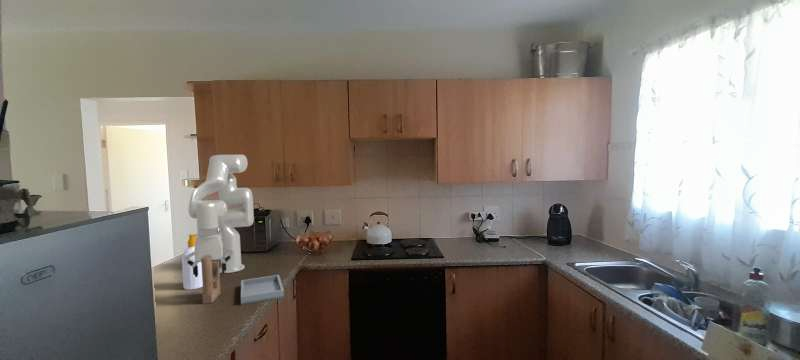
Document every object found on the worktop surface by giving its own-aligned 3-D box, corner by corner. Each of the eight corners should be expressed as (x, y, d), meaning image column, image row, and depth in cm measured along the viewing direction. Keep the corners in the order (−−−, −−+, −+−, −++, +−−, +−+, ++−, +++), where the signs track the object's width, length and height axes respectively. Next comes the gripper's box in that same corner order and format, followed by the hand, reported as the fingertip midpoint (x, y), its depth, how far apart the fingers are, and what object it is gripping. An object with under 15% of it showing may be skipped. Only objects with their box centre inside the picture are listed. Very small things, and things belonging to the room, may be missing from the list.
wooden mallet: (220, 293, 147) (218, 251, 146) (212, 303, 137) (209, 258, 136) (211, 294, 147) (209, 252, 146) (202, 304, 136) (199, 259, 135)
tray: (241, 286, 154) (241, 280, 154) (279, 281, 161) (279, 274, 161) (241, 304, 134) (240, 297, 134) (284, 297, 141) (283, 290, 141)
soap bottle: (203, 288, 153) (200, 235, 152) (180, 290, 152) (177, 237, 150) (210, 282, 162) (207, 231, 161) (188, 284, 160) (185, 233, 159)
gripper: (232, 229, 147) (234, 268, 148) (184, 233, 140) (186, 275, 141) (231, 231, 140) (233, 273, 141) (181, 236, 133) (184, 280, 134)
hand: (210, 274), depth 141 cm, fingers open, 9 cm apart
